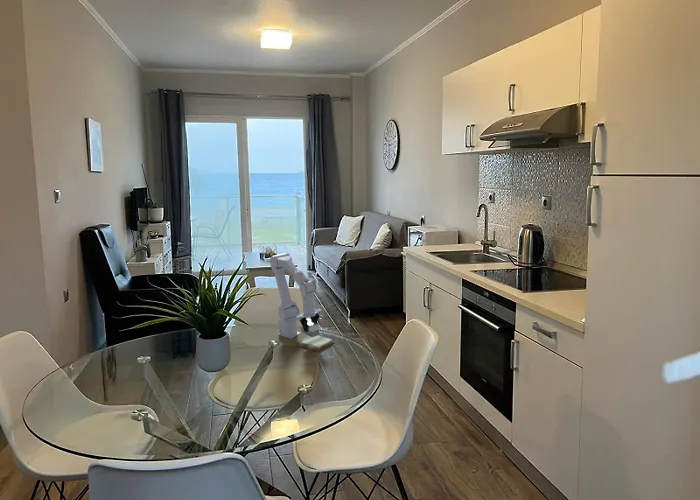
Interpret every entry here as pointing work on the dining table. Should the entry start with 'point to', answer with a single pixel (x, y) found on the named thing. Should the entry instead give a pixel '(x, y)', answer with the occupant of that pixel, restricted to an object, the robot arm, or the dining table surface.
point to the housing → (311, 329)
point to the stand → (315, 343)
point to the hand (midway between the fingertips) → (309, 329)
